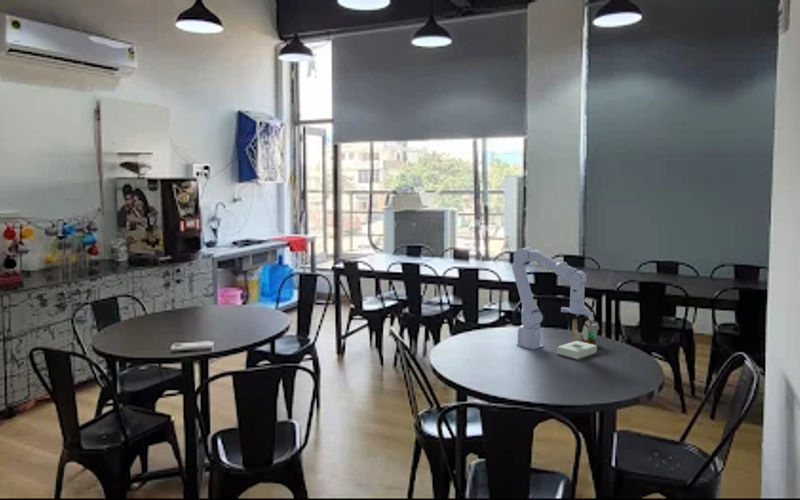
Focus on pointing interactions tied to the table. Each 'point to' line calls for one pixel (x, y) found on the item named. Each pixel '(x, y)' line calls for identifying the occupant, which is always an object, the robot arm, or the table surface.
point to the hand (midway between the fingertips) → (576, 331)
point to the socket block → (577, 350)
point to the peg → (575, 329)
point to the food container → (590, 332)
